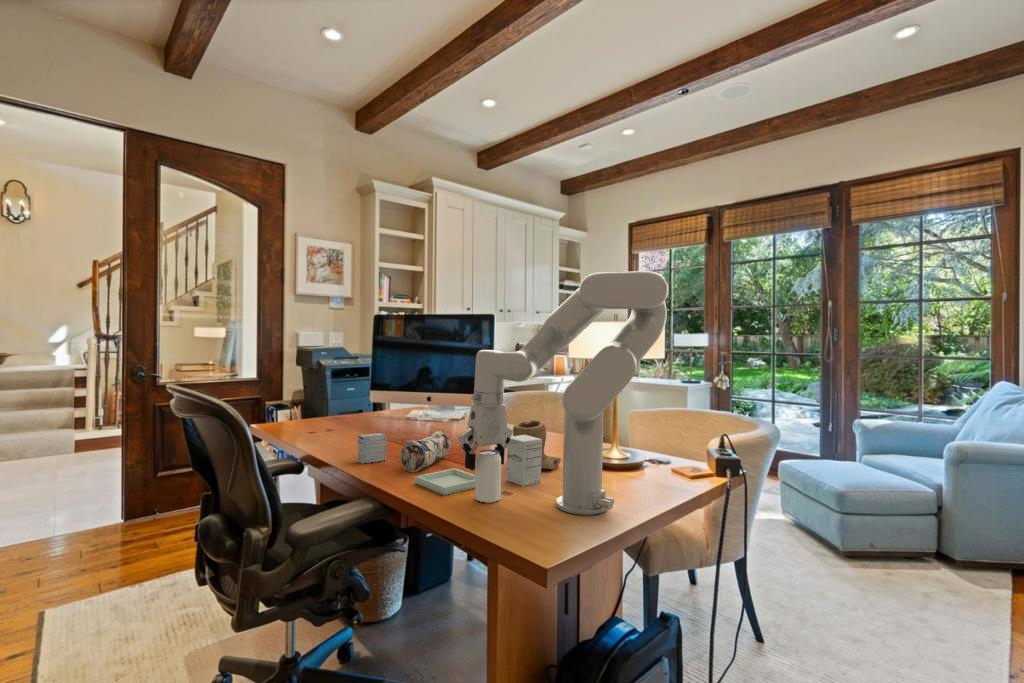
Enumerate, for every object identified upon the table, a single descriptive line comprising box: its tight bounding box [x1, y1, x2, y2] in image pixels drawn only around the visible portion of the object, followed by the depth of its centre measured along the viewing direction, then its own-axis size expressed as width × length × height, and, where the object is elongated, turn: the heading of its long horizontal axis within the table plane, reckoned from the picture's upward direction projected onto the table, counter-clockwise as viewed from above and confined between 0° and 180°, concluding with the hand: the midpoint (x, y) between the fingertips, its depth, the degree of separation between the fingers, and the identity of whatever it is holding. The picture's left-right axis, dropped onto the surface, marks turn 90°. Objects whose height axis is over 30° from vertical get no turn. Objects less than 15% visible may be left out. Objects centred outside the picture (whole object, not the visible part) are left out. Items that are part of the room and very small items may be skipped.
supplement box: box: [505, 435, 542, 487], centre depth 139 cm, size 7×7×13 cm
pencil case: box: [400, 430, 452, 473], centre depth 157 cm, size 22×8×10 cm, turn 165°
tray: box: [414, 467, 475, 497], centre depth 134 cm, size 14×14×2 cm
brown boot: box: [512, 419, 562, 470], centre depth 154 cm, size 15×12×15 cm
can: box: [474, 449, 502, 504], centre depth 123 cm, size 6×6×12 cm
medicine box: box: [357, 432, 387, 465], centre depth 158 cm, size 8×4×9 cm, turn 130°
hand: (484, 466), depth 123 cm, fingers open, 9 cm apart
